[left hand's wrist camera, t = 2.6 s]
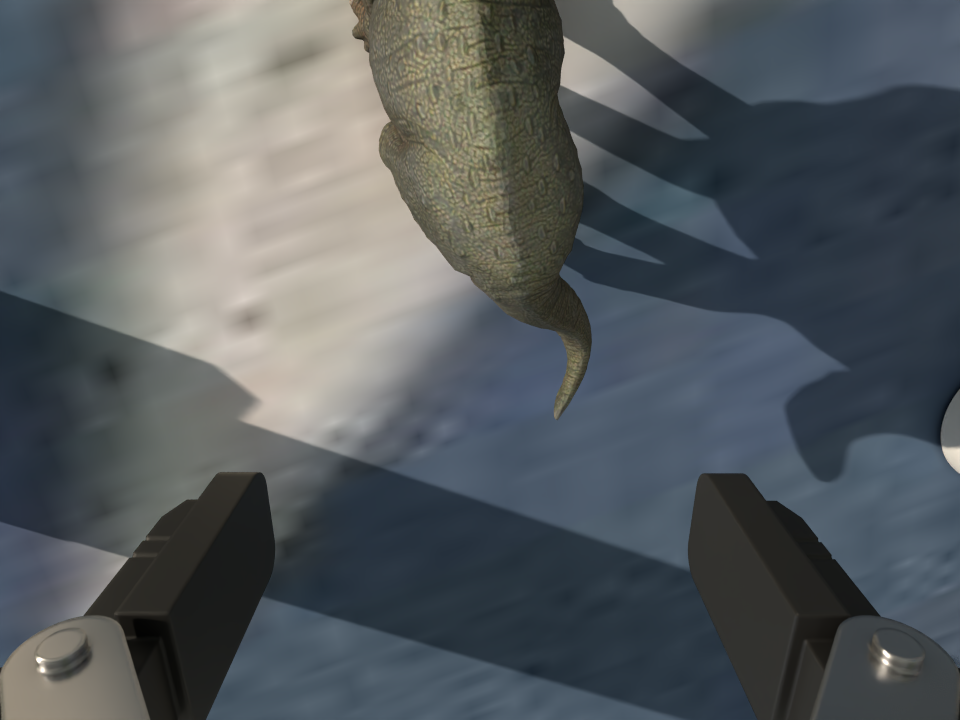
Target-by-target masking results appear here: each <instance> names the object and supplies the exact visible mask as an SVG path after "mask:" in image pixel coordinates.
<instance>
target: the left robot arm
mask: <svg viewBox="0 0 960 720" xmlns="http://www.w3.org/2000/svg"><path fill="white" fill-rule="evenodd" d="M274 559H275V540H274V533H273V526H272V519H271V512H270V505H269V498H268V491H267V484H266V480H265V477H264V475H263V474H262V473H260V472H220V473H218V474H217V475H216V476H215V477H214V478H213V480H212V481H211V482H210V484H209V485H208V486H207V488H206V489H205V490H204V492H203V493H202V494H201V496H200V497H199V499H198V500H186V501H184V502H183V503H181V504H180V505H179V506H177V507H176V508H174V509H173V510H171V511H170V512H168V513H167V514H165V515H164V516H162V517H161V519H160V520H159V521H158V522H157V524H156V525H155V526H154V527H153V529H152V530H151V531H150V533H149V534H148V535H147V536H146V541H142V543H141V544H140V545H139V546H138V548H137V549H136V550H135V551H134V553H133V557H132V558H129V559H128V560H127V562H126V563H125V564H124V565H123V567H122V568H121V569H120V570H119V572H118V573H117V574H116V575H115V577H114V578H113V579H112V580H111V582H110V583H109V584H108V585H107V587H106V588H105V589H104V591H103V592H102V593H101V594H100V596H99V597H98V598H97V599H96V601H95V602H94V603H93V604H92V606H91V607H90V608H89V609H88V611H87V612H86V613H85V615H84V616H81V617H76V618H72V619H68V620H65V621H62V622H59V623H57V624H54V625H52V626H50V627H48V628H46V629H44V630H42V631H40V632H38V633H37V634H35V635H34V636H32V637H31V638H29V639H28V640H27V641H25V642H24V643H23V644H21V645H20V646H19V647H18V648H17V649H16V650H15V651H14V652H13V653H12V654H11V656H10V657H9V658H8V659H7V661H6V662H5V664H4V666H3V667H1V668H0V720H206V718H207V716H208V714H209V711H210V709H211V707H212V705H213V703H214V700H215V698H216V696H217V694H218V692H219V689H220V687H221V685H222V683H223V681H224V678H225V676H226V674H227V672H228V670H229V667H230V665H231V663H232V661H233V659H234V656H235V654H236V652H237V650H238V648H239V645H240V643H241V641H242V639H243V637H244V634H245V632H246V630H247V628H248V626H249V623H250V621H251V619H252V617H253V615H254V612H255V610H256V608H257V606H258V604H259V601H260V599H261V597H262V595H263V593H264V590H265V588H266V586H267V584H268V581H269V579H270V577H271V574H272V570H273V566H274ZM688 559H689V566H690V571H691V575H692V578H693V580H694V582H695V585H696V587H697V589H698V591H699V593H700V595H701V598H702V600H703V602H704V604H705V606H706V608H707V611H708V613H709V615H710V617H711V619H712V622H713V624H714V626H715V628H716V630H717V632H718V635H719V637H720V639H721V641H722V643H723V645H724V648H725V650H726V652H727V654H728V656H729V659H730V661H731V663H732V665H733V667H734V669H735V672H736V674H737V676H738V678H739V680H740V682H741V685H742V687H743V689H744V691H745V693H746V696H747V698H748V700H749V702H750V704H751V706H752V709H753V711H754V713H755V715H756V717H757V719H758V720H960V668H958V667H957V666H956V664H955V662H954V661H953V659H952V658H951V657H950V656H949V654H948V653H947V652H946V651H945V650H944V649H943V648H942V647H941V646H940V645H939V644H937V643H936V642H935V641H933V640H932V639H931V638H929V637H928V636H926V635H925V634H923V633H922V632H920V631H918V630H916V629H914V628H912V627H910V626H908V625H906V624H903V623H901V622H898V621H895V620H892V619H888V618H884V617H881V616H880V615H879V614H878V613H877V611H876V610H875V609H874V608H873V606H872V605H871V604H870V603H869V601H868V600H867V599H866V598H865V596H864V595H863V594H862V593H861V591H860V590H859V589H858V588H857V586H856V585H855V584H854V583H853V581H852V580H851V579H850V578H849V576H848V575H847V574H846V573H845V571H844V570H843V569H842V568H841V566H840V565H839V564H838V563H837V561H836V560H835V559H832V557H831V554H830V553H829V551H828V550H827V549H826V548H825V546H824V545H823V544H822V543H821V542H818V538H817V536H816V535H815V534H814V533H813V531H812V530H811V529H810V528H809V526H808V525H807V524H806V523H805V521H804V520H803V519H802V518H801V517H800V516H798V515H797V514H795V513H794V512H792V511H791V510H789V509H788V508H786V507H785V506H783V505H782V504H781V503H779V502H778V501H766V500H765V499H764V497H763V496H762V495H761V493H760V492H759V491H758V489H757V488H756V487H755V485H754V484H753V482H752V481H751V480H750V478H749V477H748V476H747V475H746V474H743V473H704V474H701V475H700V477H699V479H698V482H697V487H696V494H695V501H694V507H693V514H692V521H691V528H690V535H689V542H688Z"/></svg>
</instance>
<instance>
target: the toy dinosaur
mask: <svg viewBox="0 0 960 720" xmlns="http://www.w3.org/2000/svg"><path fill="white" fill-rule="evenodd" d="M350 5H351V7H352V9H353V11H354V13H355V14H356V16H357V17H358V19H359V23H358V24H357V25H356V26H355V27H354V29H353V36H354V37H355V38H356V39H361V40H363V41H364V49H365V50H366V51H367V52H369V62H370V66H371V69H372V73H373V78H374V82H375V84H376V87H377V90H378V92H379V95H380V98H381V101H382V103H383V106H384V109H385V111H386V113H387V115H388V116H389V118H390V120H391V122H389V123H388V124H386V125H385V126H384V128H383V130H382V133H381V136H380V139H379V153H380V157H381V159H382V161H383V163H384V164H385V165H386V167H388V168H389V169H390V170H391V172H392V174H393V177H394V180H395V184H396V186H397V187H398V189H399V191H400V194H401V197H402V199H403V200H404V201H405V203H406V204H407V206H408V207H409V209H410V211H411V213H412V215H413V218H414V220H415V221H416V222H417V223H418V224H419V226H420V227H421V229H422V231H423V232H424V233H425V235H426V237H427V238H428V239H429V240H430V241H431V242H432V243H434V244H435V245H436V247H437V248H438V249H439V251H440V252H441V253H442V255H443V256H444V257H445V258H446V260H447V261H448V262H449V264H450V265H451V266H452V267H453V268H454V270H456V271H459V272H461V273H463V274H466V275H468V276H470V278H471V280H472V282H473V283H474V284H475V285H476V286H477V287H478V288H480V289H481V290H482V291H483V292H484V293H486V294H487V295H488V296H489V297H490V298H491V299H492V300H493V301H494V302H495V303H496V304H497V305H498V306H499V307H500V308H501V309H502V310H503V311H504V312H505V313H506V314H508V315H510V316H511V317H513V318H515V319H517V320H519V321H521V322H524V323H526V324H529V325H532V326H535V327H539V328H543V329H550V330H553V331H556V332H557V333H558V335H559V336H561V338H562V340H563V342H564V346H565V348H566V351H567V358H568V361H567V370H566V374H565V376H564V379H563V383H562V385H561V387H560V389H559V391H558V394H557V396H556V400H555V406H554V418H555V419H556V420H558V419H559V417H560V416H561V415H562V413H563V412H564V410H565V409H566V408H567V406H568V405H569V403H570V401H571V400H572V398H573V396H574V394H575V393H576V391H577V389H578V387H579V385H580V383H581V381H582V379H583V377H584V375H585V372H586V369H587V365H588V361H589V357H590V352H591V344H592V338H591V327H590V323H589V319H588V316H587V314H586V312H585V309H584V307H583V305H582V303H581V300H580V299H579V297H578V296H577V295H576V293H575V291H574V290H573V289H572V288H571V287H570V286H569V284H568V283H566V281H564V280H563V279H562V278H561V277H560V275H559V272H560V270H561V268H562V266H563V264H564V262H565V260H566V258H567V256H568V254H569V253H570V252H571V250H572V246H573V242H574V238H575V235H576V231H577V228H578V224H579V221H580V217H581V212H582V208H583V187H584V185H583V180H582V168H581V165H580V162H579V159H578V154H577V148H576V146H575V144H574V142H573V139H572V137H571V134H570V130H569V127H568V125H567V123H566V120H565V119H564V116H563V112H562V109H561V107H560V105H559V101H558V96H557V93H558V89H559V86H560V78H561V67H562V62H563V58H564V54H565V51H564V44H563V43H564V39H563V32H562V20H561V18H560V16H559V12H558V10H557V7H556V4H555V2H554V0H350Z"/></svg>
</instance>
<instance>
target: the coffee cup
mask: <svg viewBox="0 0 960 720" xmlns="http://www.w3.org/2000/svg"><path fill="white" fill-rule="evenodd" d="M941 445H942V450H943V453H944V455H945V457H946V459H947V461H948V462H949V464H950V465H951V466H952V467H953V468H954V469H955V470H956V471H957V472H958V473H959V474H960V389H959V391H958V392H957V393H956V395H955V396H954V398H953V399H952V401H951V403H950V405H949V407H948V409H947V411H946V413H945V416H944V419H943V422H942V427H941Z"/></svg>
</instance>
